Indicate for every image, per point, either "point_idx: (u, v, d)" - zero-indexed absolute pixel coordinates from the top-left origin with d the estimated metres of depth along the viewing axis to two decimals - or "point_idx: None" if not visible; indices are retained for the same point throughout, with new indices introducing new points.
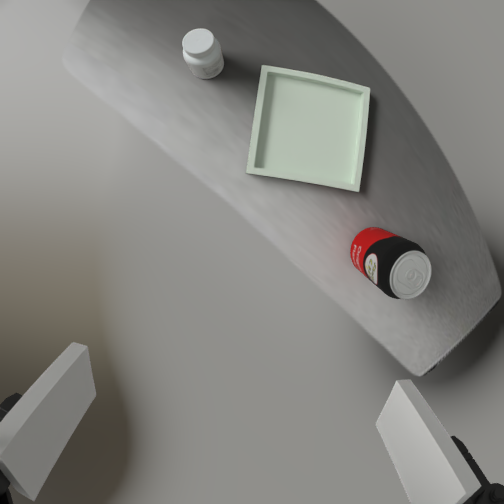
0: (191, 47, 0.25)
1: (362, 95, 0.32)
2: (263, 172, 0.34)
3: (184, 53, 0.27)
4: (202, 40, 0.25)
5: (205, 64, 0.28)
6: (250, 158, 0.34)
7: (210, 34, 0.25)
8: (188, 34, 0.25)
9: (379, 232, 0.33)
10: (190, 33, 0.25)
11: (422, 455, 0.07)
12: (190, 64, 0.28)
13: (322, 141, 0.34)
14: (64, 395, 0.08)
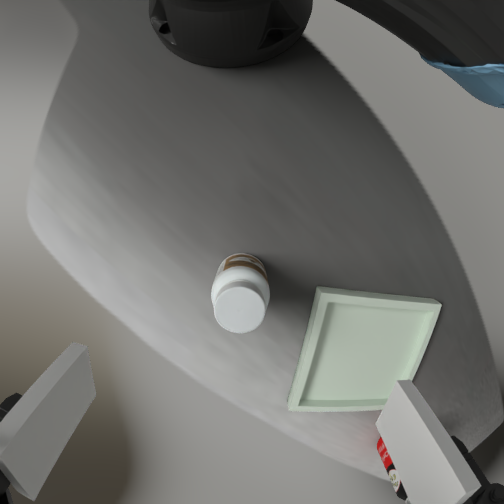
0: (229, 322, 0.20)
1: (431, 313, 0.27)
2: (307, 409, 0.28)
3: (214, 303, 0.22)
4: (247, 311, 0.19)
5: None
6: (295, 399, 0.28)
7: (259, 301, 0.19)
8: (222, 297, 0.19)
9: None
10: (226, 296, 0.19)
11: (422, 455, 0.07)
12: None
13: (374, 367, 0.29)
14: (64, 395, 0.08)
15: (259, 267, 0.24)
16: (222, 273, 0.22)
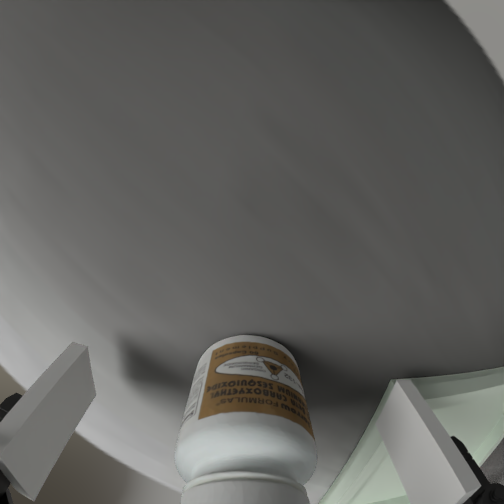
0: None
1: None
2: None
3: (184, 479, 0.07)
4: None
5: None
6: None
7: None
8: None
9: None
10: None
11: (422, 455, 0.07)
12: None
13: None
14: (64, 395, 0.08)
15: (290, 388, 0.09)
16: (196, 430, 0.07)
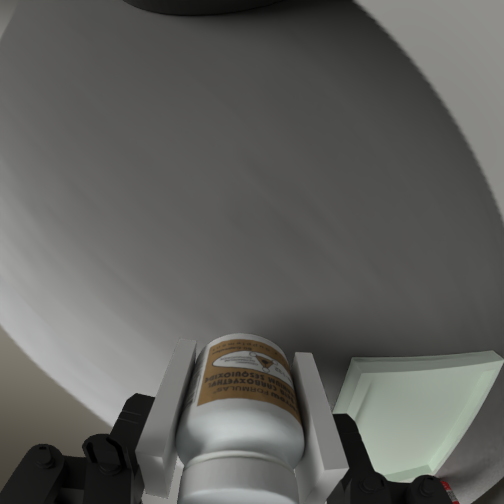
0: None
1: (490, 371, 0.16)
2: None
3: (184, 463, 0.08)
4: None
5: None
6: None
7: None
8: (194, 499, 0.05)
9: None
10: (202, 498, 0.05)
11: (303, 426, 0.09)
12: None
13: (414, 441, 0.18)
14: (186, 388, 0.10)
15: (280, 380, 0.10)
16: (195, 415, 0.08)
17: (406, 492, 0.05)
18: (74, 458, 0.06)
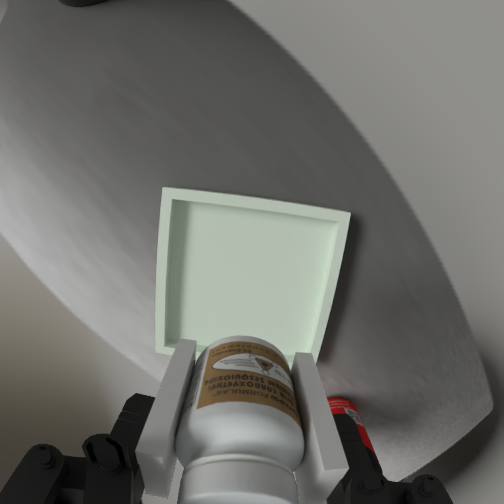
0: None
1: (336, 225, 0.22)
2: None
3: (184, 466, 0.08)
4: None
5: None
6: (158, 335, 0.24)
7: None
8: (194, 502, 0.05)
9: None
10: (202, 501, 0.05)
11: (303, 426, 0.09)
12: None
13: (264, 304, 0.24)
14: (186, 388, 0.10)
15: (280, 382, 0.10)
16: (194, 418, 0.08)
17: (406, 492, 0.05)
18: (74, 458, 0.06)
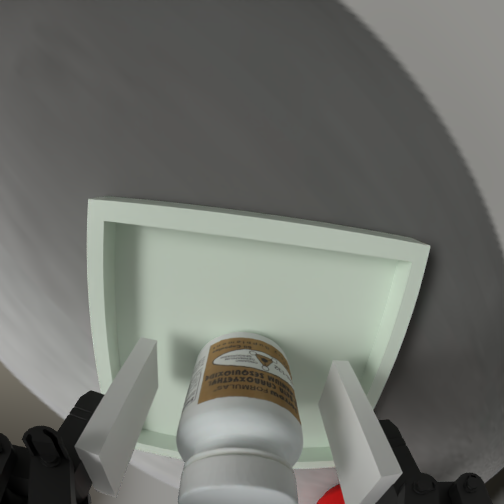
0: None
1: (404, 267, 0.11)
2: (143, 448, 0.13)
3: (185, 461, 0.08)
4: None
5: None
6: None
7: (286, 501, 0.06)
8: (195, 495, 0.06)
9: None
10: (202, 495, 0.06)
11: (349, 434, 0.09)
12: None
13: None
14: (141, 388, 0.10)
15: (280, 378, 0.10)
16: (195, 413, 0.08)
17: (451, 488, 0.05)
18: (23, 448, 0.05)
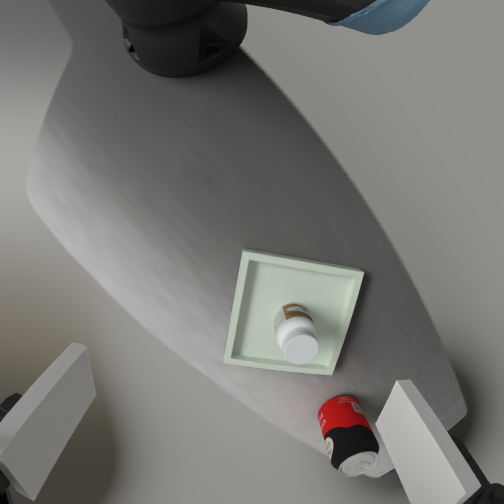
0: (294, 357, 0.27)
1: (354, 280, 0.33)
2: (239, 363, 0.34)
3: (279, 343, 0.29)
4: (306, 350, 0.27)
5: None
6: (227, 351, 0.34)
7: (316, 344, 0.27)
8: (291, 341, 0.27)
9: (344, 412, 0.33)
10: (294, 340, 0.27)
11: (422, 455, 0.07)
12: None
13: None
14: (64, 395, 0.08)
15: (309, 315, 0.31)
16: (286, 322, 0.29)
17: None
18: None
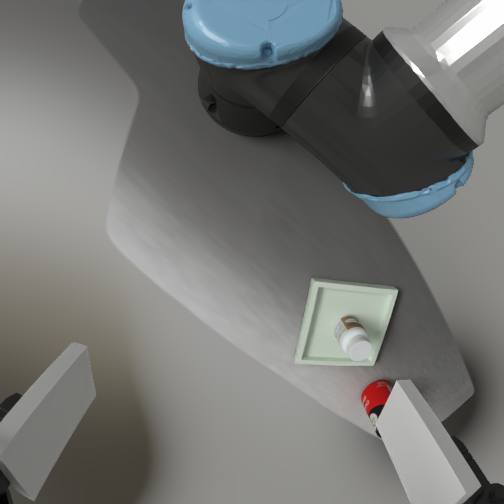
0: (355, 357, 0.37)
1: (391, 295, 0.42)
2: (307, 362, 0.44)
3: (343, 347, 0.39)
4: (364, 351, 0.37)
5: None
6: (299, 354, 0.44)
7: (370, 346, 0.37)
8: (354, 346, 0.36)
9: (382, 393, 0.43)
10: (356, 345, 0.36)
11: (422, 455, 0.07)
12: None
13: None
14: (64, 395, 0.08)
15: None
16: (348, 331, 0.39)
17: None
18: None
